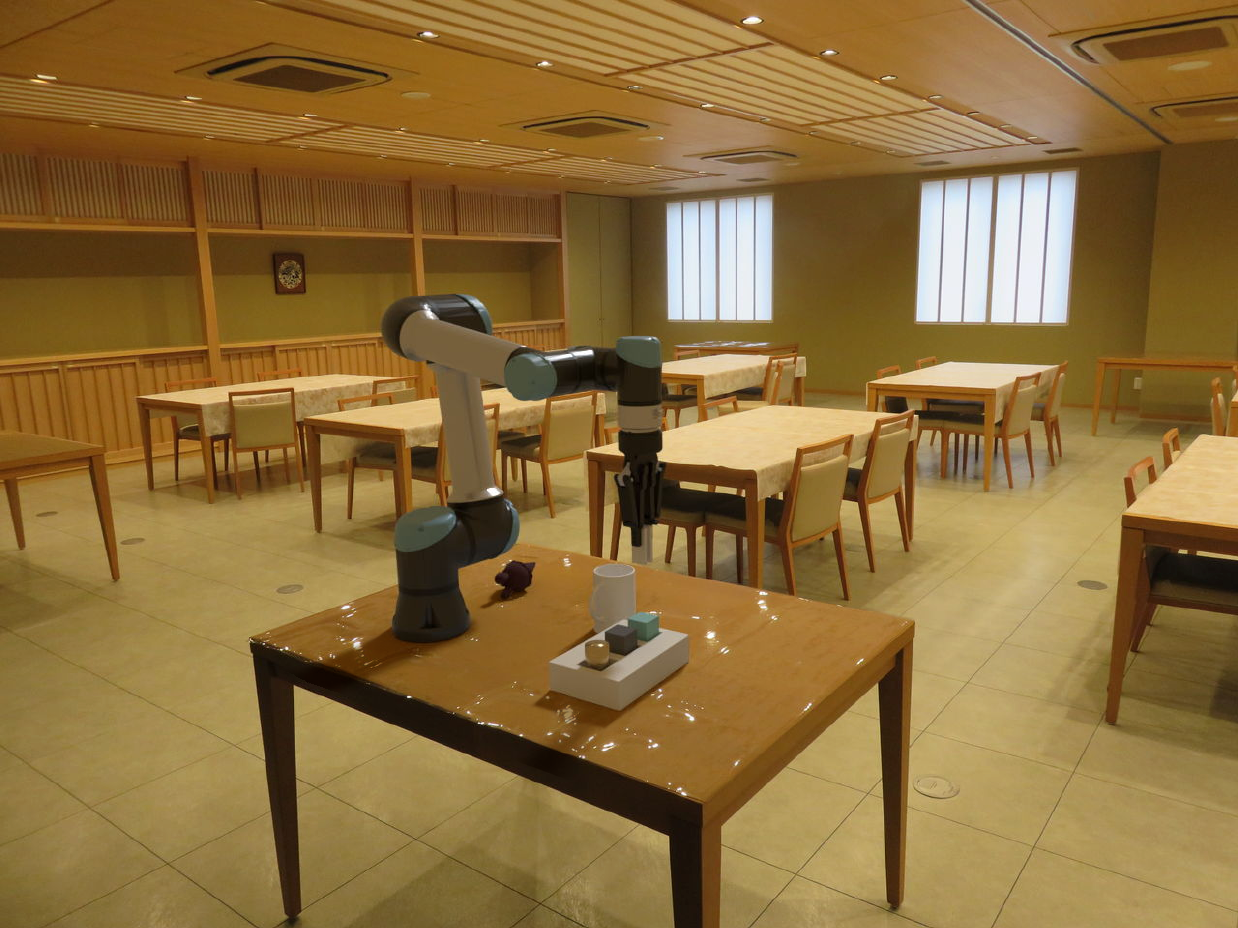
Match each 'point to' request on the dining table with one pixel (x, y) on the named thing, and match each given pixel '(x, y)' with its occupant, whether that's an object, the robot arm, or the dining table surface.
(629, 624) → the teal cube
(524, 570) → the dark purple knobbly piece
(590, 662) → the gold metal cylinder
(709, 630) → the dining table surface
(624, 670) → the white slotted tray
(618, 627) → the dark grey cube
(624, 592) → the mug
